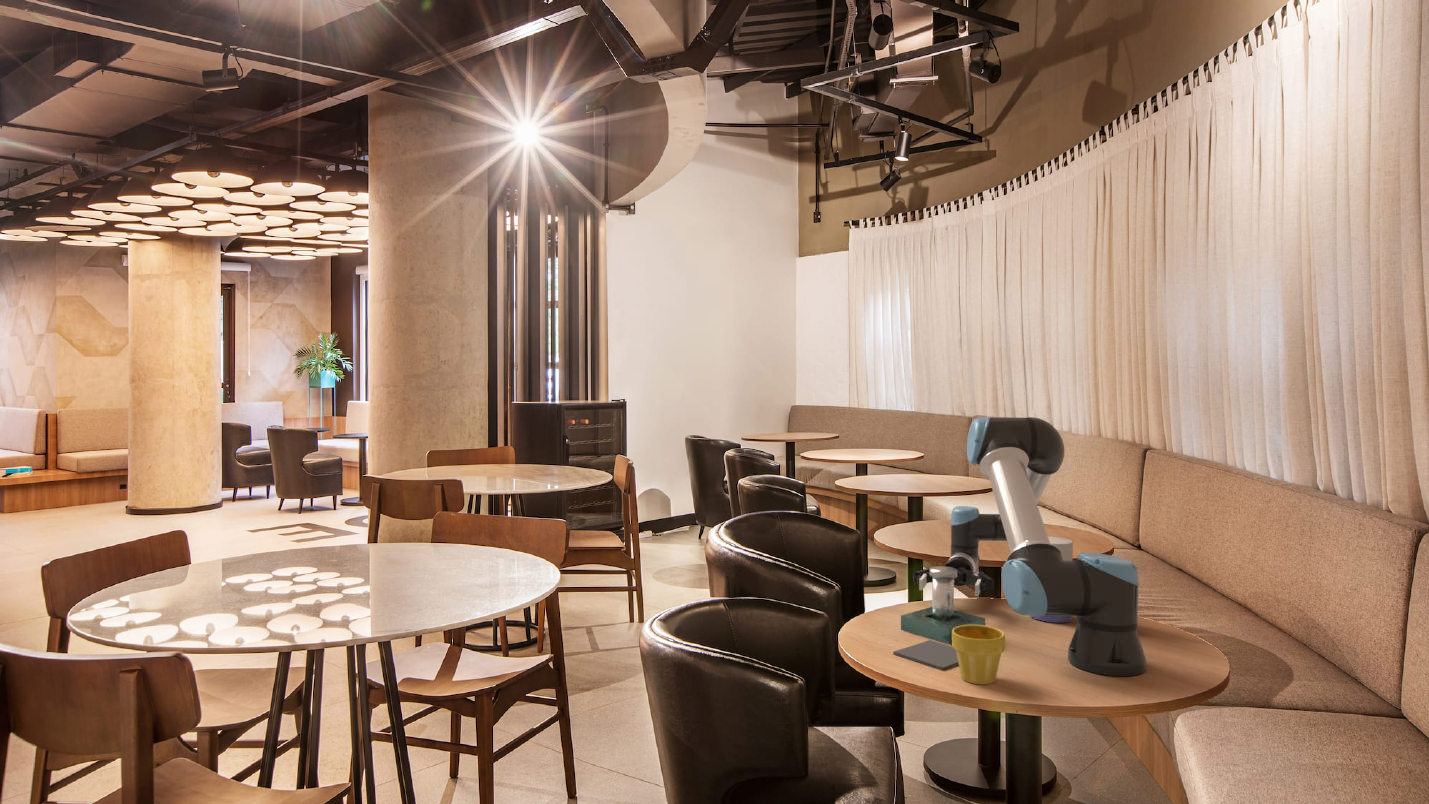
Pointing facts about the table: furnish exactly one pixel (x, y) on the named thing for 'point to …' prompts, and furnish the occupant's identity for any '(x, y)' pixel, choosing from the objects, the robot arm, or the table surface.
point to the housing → (936, 624)
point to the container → (1067, 554)
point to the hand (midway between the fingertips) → (948, 587)
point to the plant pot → (978, 652)
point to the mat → (930, 654)
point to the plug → (943, 592)
